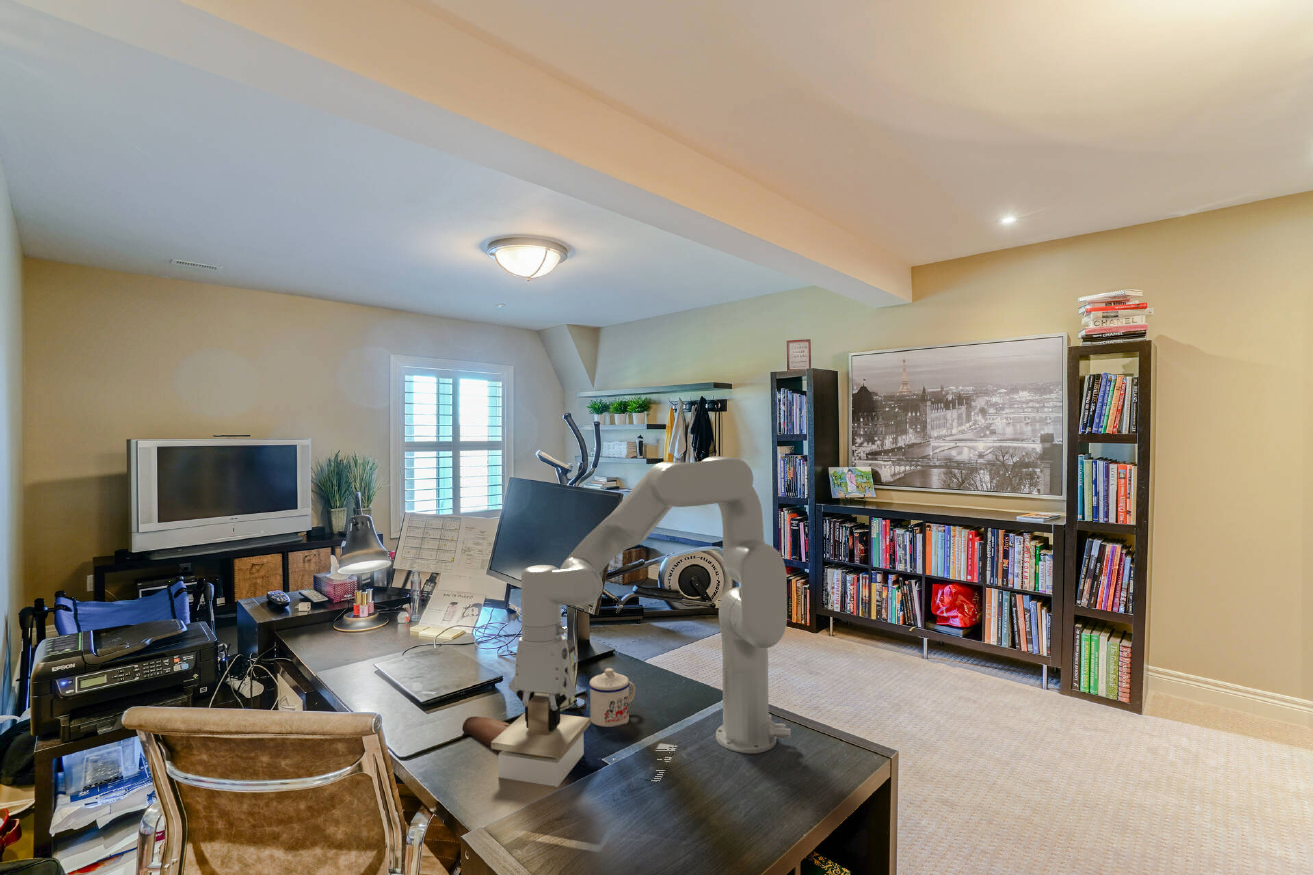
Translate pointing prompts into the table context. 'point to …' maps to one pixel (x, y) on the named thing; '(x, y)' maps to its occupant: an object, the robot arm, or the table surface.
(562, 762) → the dish
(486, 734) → the sunglasses case
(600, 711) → the teacup with lid
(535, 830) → the table surface
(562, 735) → the lid
